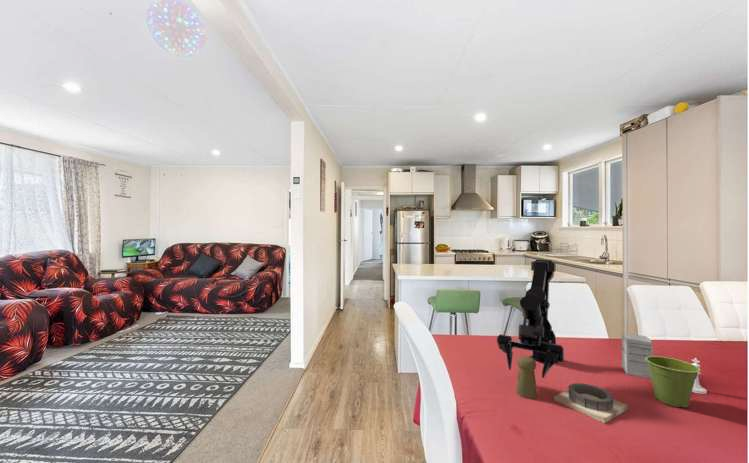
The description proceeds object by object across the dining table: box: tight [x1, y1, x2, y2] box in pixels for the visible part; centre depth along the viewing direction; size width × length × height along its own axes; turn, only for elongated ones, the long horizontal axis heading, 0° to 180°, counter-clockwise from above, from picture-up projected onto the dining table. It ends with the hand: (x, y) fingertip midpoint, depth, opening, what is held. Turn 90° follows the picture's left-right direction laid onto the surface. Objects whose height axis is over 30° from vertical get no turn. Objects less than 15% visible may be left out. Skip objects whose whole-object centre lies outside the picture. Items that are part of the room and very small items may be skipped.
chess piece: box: [691, 357, 708, 395], centre depth 101 cm, size 5×5×10 cm
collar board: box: [553, 382, 628, 424], centre depth 91 cm, size 13×13×4 cm
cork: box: [515, 355, 538, 400], centre depth 98 cm, size 6×6×11 cm
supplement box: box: [621, 332, 654, 380], centre depth 113 cm, size 7×7×13 cm
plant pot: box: [645, 355, 702, 409], centre depth 94 cm, size 12×12×11 cm
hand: (525, 373), depth 97 cm, fingers open, 9 cm apart
